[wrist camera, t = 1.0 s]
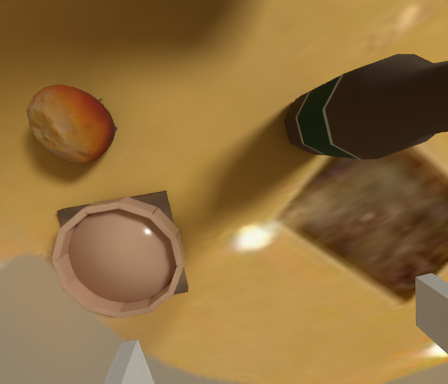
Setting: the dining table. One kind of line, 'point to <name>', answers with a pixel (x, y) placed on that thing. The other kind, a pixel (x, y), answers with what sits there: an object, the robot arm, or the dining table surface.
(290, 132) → the beer bottle
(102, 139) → the fruit
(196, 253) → the dining table surface
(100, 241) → the bowl
